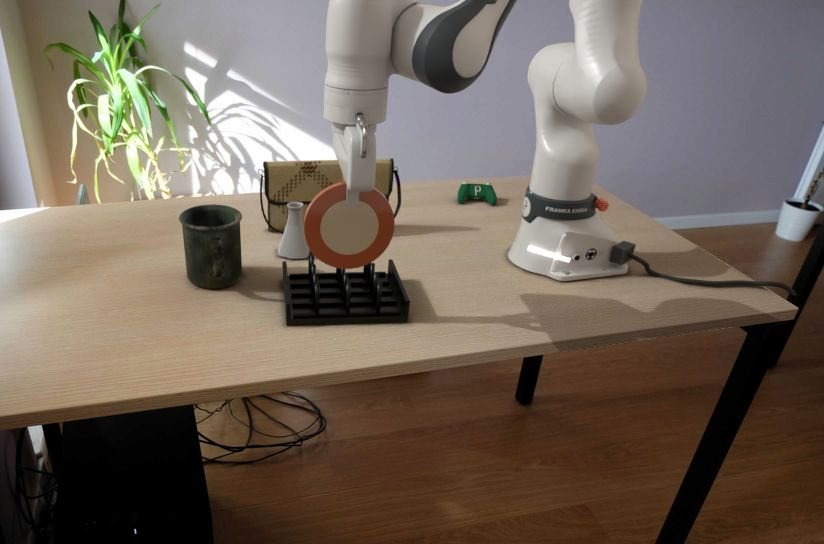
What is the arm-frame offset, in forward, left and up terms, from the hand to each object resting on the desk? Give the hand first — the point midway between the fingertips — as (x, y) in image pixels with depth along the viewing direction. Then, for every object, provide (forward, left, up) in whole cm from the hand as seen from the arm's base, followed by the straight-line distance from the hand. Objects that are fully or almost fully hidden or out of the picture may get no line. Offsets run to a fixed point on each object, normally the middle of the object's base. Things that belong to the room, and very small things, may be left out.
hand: (350, 200), depth 100 cm
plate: (0, 0, -4) cm, 4 cm away
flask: (+7, -26, -20) cm, 34 cm away
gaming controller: (-38, -54, -20) cm, 69 cm away
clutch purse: (-1, -36, -20) cm, 41 cm away
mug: (+22, -14, -20) cm, 33 cm away
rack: (0, -5, -20) cm, 21 cm away
